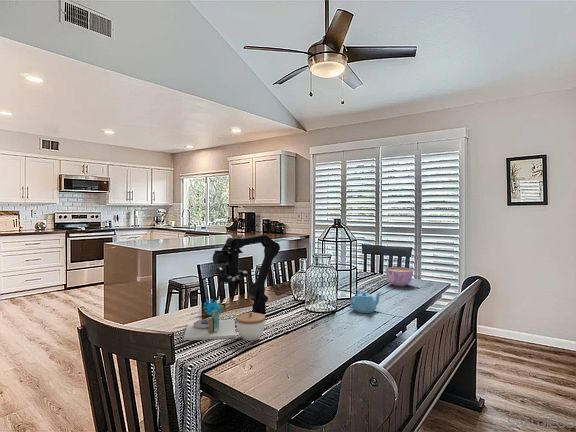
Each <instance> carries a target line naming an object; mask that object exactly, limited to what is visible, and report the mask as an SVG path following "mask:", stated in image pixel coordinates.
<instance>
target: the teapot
mask: <svg viewBox="0 0 576 432" xmlns="http://www.w3.org/2000/svg"><path fill="white" fill-rule="evenodd" d="M381 294H382V291H379V292H377V293H376V296H375V299H374V297H373V295H371V294H370V293H368V292H367V291H362V292H361V291H360V289H359V288H356V295H353V296H351V297H350V303H351V304H350V305H349V308H350V309H351V310H353V311H355V312H357V313H362V314H371V313H374V312H375V311H376V310H377V306H378V304H379V302H380V295H381Z"/></svg>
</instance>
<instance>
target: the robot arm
mask: <svg viewBox="0 0 576 432" xmlns="http://www.w3.org/2000/svg"><path fill="white" fill-rule="evenodd" d="M259 243H260V244H261V245H262V247H263V248H264V250H263V254H264V257H263V259H262V263H261V266H260V269H259V271H258V274H257V277H256V278H255V279H256V280H255V281H254V282H253V283H252V282H251V283H250V284H249V288H248V297H250V299H251V301H252V305H251V306H252V307H251V308H252V309H251V310H252V311H251V312H252V313H260V314H263V315H264V314H267V311H266V306H267V304H266V303H268V301H269V297H268V296H267V295H266V294H265V293H266V292H265V291H266V286H265V284H266V281H267V278H268V275H269V272H270V269H271V266H272V263H273V260H274V259H275V258H276V257H277V255H278V254H279V252H280V250H281V246H280V244H279V243H278V242H276V241H275V240H273V239H272V238H270V236H268V235H267V234H262V233H260V234H258V235H257V234H256V235H250V236H246V237H228V238H227V239H226V241H225V244H224V245H223V247H222V248H221V250H218V249H217V250H216V249H215V250H214V253H213V255H212V262H213V264H214V265H222V264H225V266H224V268H222V267H216V270H215V271H216V275H218V277H217V282H218V283H219V282H220V283H228V285H229V288H230V291H231V293H232V294H235V293H236V291H237V289H238V287H239V285H240V282H241V281H242V280H243V278H241V276H242V277H244V278H246V277H248V273H249V272H248V271H247V270H240V267H241V266H242V265H241V264H240V254H243V250H241V249H242V248H243V247H244V246H248V245H254V244H259Z"/></svg>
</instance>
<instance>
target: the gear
mask: <svg viewBox="0 0 576 432" xmlns="http://www.w3.org/2000/svg"><path fill="white" fill-rule="evenodd" d="M224 307H225V306H224V305H223V304H222V305H221V302H218V300H217V299H215V300H214V299H212V298H211V299H210V300H209V299H206V300H205V302H204V303H203V307H202V308H203V310H204V312H205V314H207V315H208V316H212V311H214V310H218V311H219V314H220V313H221V312H222V309H223V308H224Z"/></svg>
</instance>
